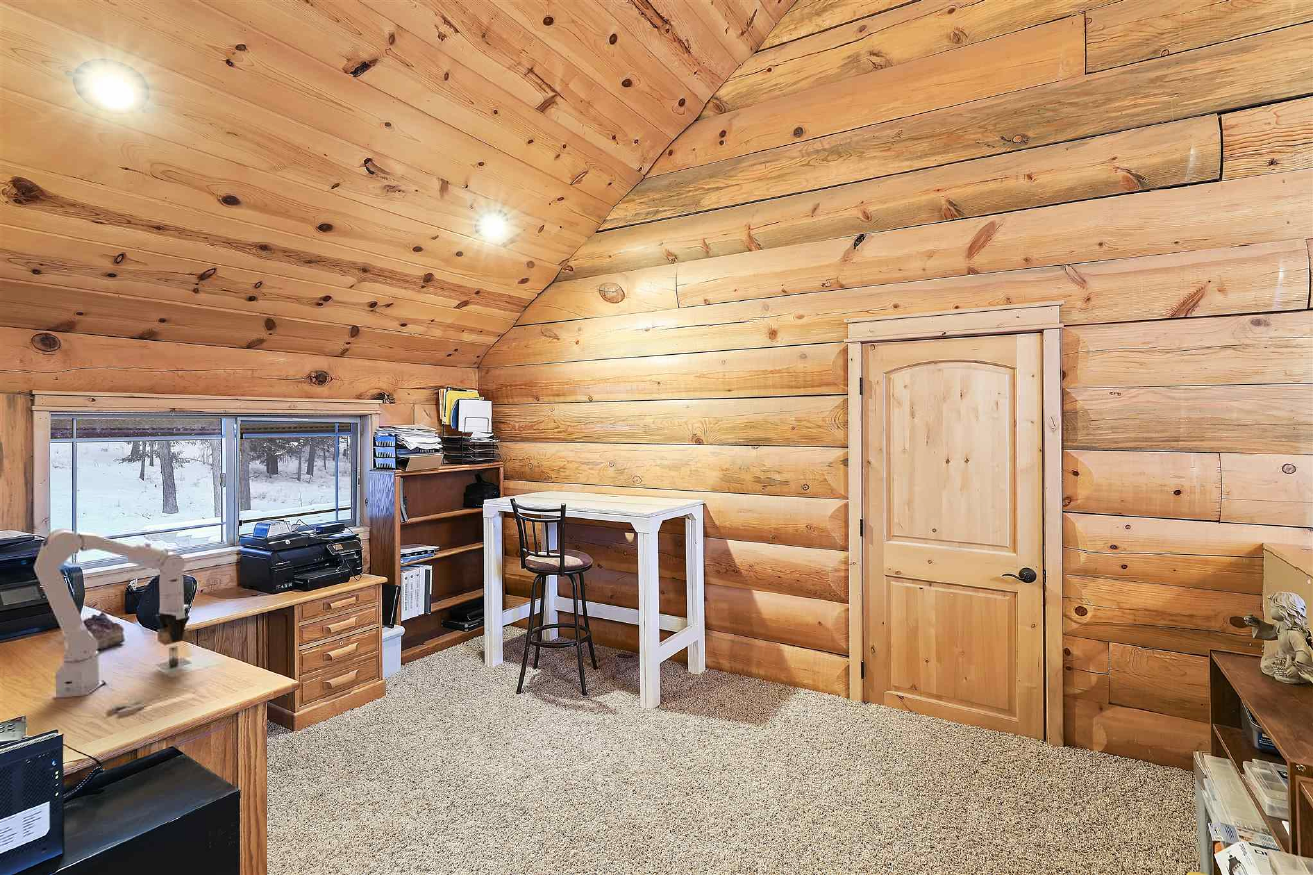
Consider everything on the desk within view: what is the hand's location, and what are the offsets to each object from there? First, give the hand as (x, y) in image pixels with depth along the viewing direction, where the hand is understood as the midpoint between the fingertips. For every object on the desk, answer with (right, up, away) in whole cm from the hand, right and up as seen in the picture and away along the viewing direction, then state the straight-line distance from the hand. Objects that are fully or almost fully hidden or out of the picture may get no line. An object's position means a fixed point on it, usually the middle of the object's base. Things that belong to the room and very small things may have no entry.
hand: (173, 638), depth 194 cm
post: (0, -9, 0) cm, 9 cm away
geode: (-41, -9, +21) cm, 47 cm away
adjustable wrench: (+14, -10, -21) cm, 28 cm away
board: (+4, -9, -1) cm, 10 cm away
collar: (0, -1, 0) cm, 1 cm away
